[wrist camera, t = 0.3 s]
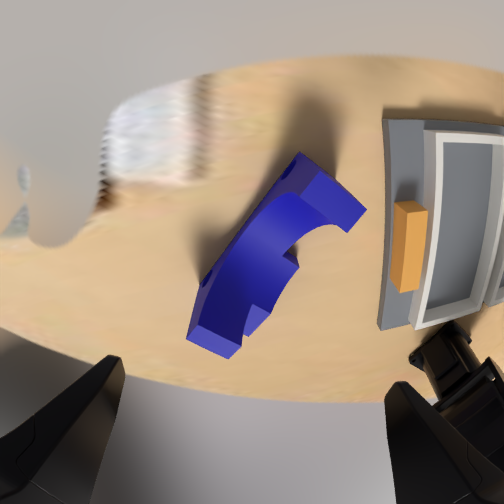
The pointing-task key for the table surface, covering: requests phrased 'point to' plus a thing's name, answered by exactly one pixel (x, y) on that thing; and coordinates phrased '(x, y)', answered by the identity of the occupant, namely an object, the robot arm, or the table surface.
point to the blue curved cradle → (266, 255)
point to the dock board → (441, 221)
